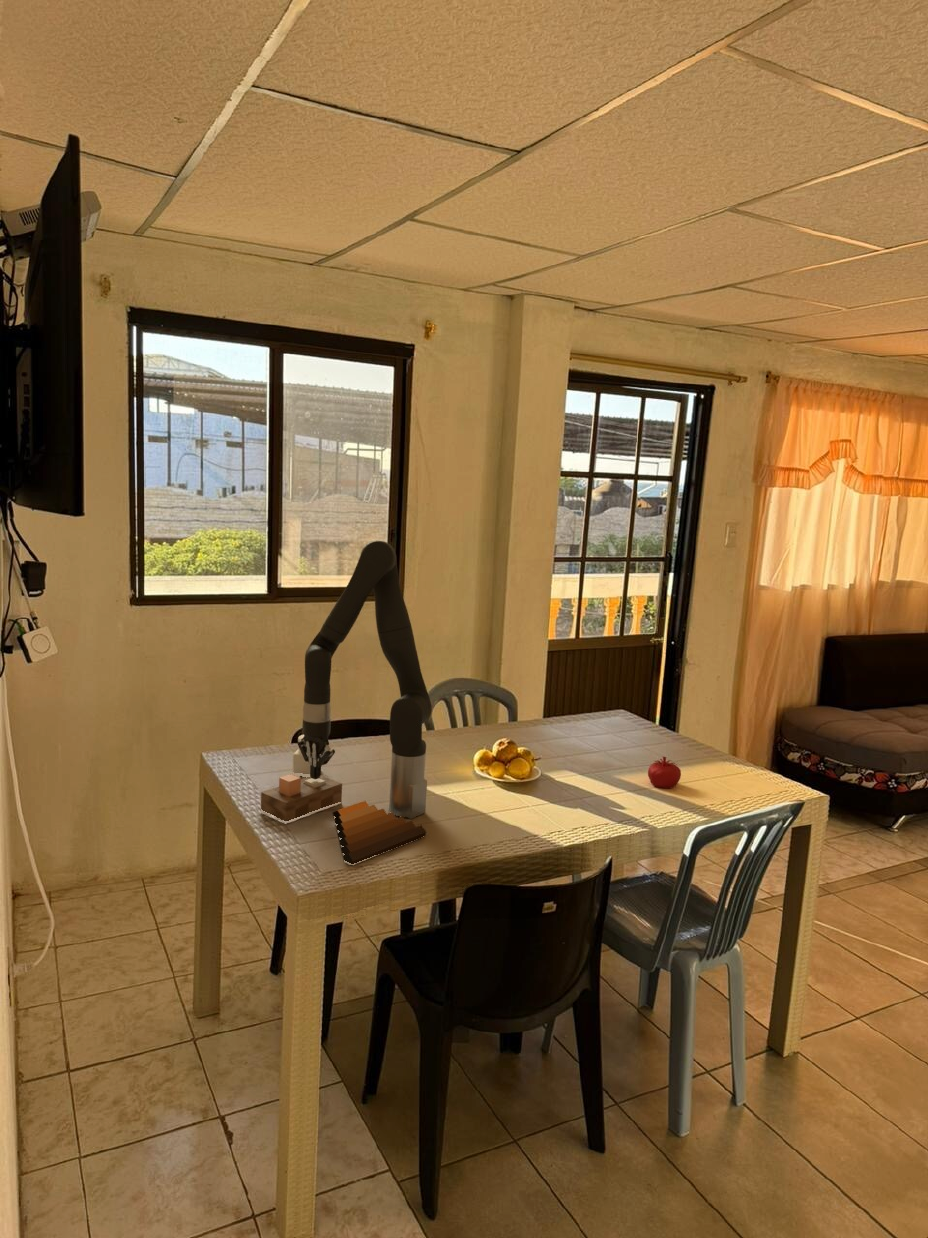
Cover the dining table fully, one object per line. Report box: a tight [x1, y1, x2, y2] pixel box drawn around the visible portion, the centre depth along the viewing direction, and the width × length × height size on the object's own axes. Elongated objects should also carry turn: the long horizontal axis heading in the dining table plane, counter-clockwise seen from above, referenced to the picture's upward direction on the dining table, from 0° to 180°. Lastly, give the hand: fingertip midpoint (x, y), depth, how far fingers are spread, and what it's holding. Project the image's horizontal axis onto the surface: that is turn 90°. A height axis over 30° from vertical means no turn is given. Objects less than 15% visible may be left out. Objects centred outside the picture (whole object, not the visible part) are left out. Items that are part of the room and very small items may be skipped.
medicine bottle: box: [292, 734, 323, 774], centre depth 261 cm, size 7×7×12 cm
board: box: [260, 775, 343, 821], centre depth 235 cm, size 10×20×6 cm, turn 142°
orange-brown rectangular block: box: [278, 773, 302, 797], centre depth 231 cm, size 4×4×6 cm
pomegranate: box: [647, 756, 682, 789], centre depth 270 cm, size 10×10×9 cm
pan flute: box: [332, 800, 427, 864], centre depth 221 cm, size 25×3×25 cm
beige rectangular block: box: [305, 778, 325, 788], centre depth 238 cm, size 4×4×6 cm
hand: (315, 778), depth 237 cm, fingers closed
